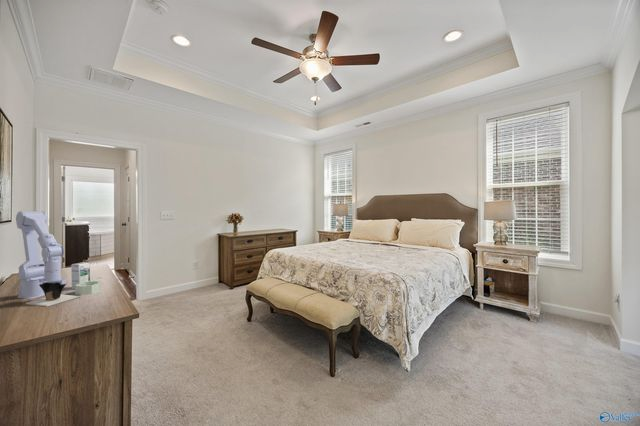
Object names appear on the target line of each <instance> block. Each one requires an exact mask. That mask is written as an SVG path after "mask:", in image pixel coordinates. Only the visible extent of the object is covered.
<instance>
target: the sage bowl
mask: <svg viewBox="0 0 640 426" xmlns="http://www.w3.org/2000/svg"><path fill="white" fill-rule="evenodd" d="M101 283H102V282H101V280H100V281H99V280H90V282H83V283H79V284H77V285H76V286H75V289H74V296H87V295H88V296H89V295H94V294H96V293H100V291H101V288H102V287H101Z"/></svg>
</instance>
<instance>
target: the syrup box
mask: <svg viewBox="0 0 640 426" xmlns="http://www.w3.org/2000/svg"><path fill="white" fill-rule="evenodd" d="M90 263H91V262H85V261H84V262H83V261H82V262H78V263H72V264H71V266H70V268H71V270H70V272H71V273H70V274H71V289H72V290H75V286H76V285H77V284H79V283H83V282H90V281H91V270H90V269H91V268H90V267H91V264H90Z"/></svg>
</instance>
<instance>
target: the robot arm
mask: <svg viewBox="0 0 640 426" xmlns="http://www.w3.org/2000/svg"><path fill="white" fill-rule="evenodd" d="M48 216H49V215H48V213H47V212H46V211H44V210H43V211H22V210H21V211H20V210H19V211H18V212H17V213H16V215H15V222H16V223H15V224H16V227H17V229H19V230H21V233H22V237H23V238H22V239H23V246H24V254H25V261H24V262H23V263H21V265H19V266H18V273H17V274H18V279H19V280H20V283H19V284H18V296H16V298H18V299H28V300H32V299H36V298H39V297H44V298H45V297H46V293H48V292H53V298H54V299H56V298H60V295H61V294H62V292H63V290H64V289H65V288H64V287H66V285H67V281H68V280H67V279H65V278H62V257H63V256H64V253H65V250H64V247H63V245H62V244H60V243H58V242H57V240H56V238H55V236H54V234H52V233H50V232H49V229H48V226H47V221H48V219H49V218H48ZM39 245H40V246H39ZM39 247H41V254H40V248H39ZM40 255H41V256H40ZM41 258H42V259H41Z"/></svg>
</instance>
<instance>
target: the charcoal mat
mask: <svg viewBox="0 0 640 426" xmlns="http://www.w3.org/2000/svg"><path fill="white" fill-rule="evenodd" d="M80 298H81V296H78V297H77V298H74V299H70V300H67V301H64V302H60V303H57V304H54V305H50V306H40V307H43V308H50V307H53V306H57V305H61V304H63V303H66V302H69V301H73V300H77V299H80ZM26 303H27V302H25V303H23V305H24V306H31V305H30V304H26ZM32 306H34V307H39V306H38V305H32Z"/></svg>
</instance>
